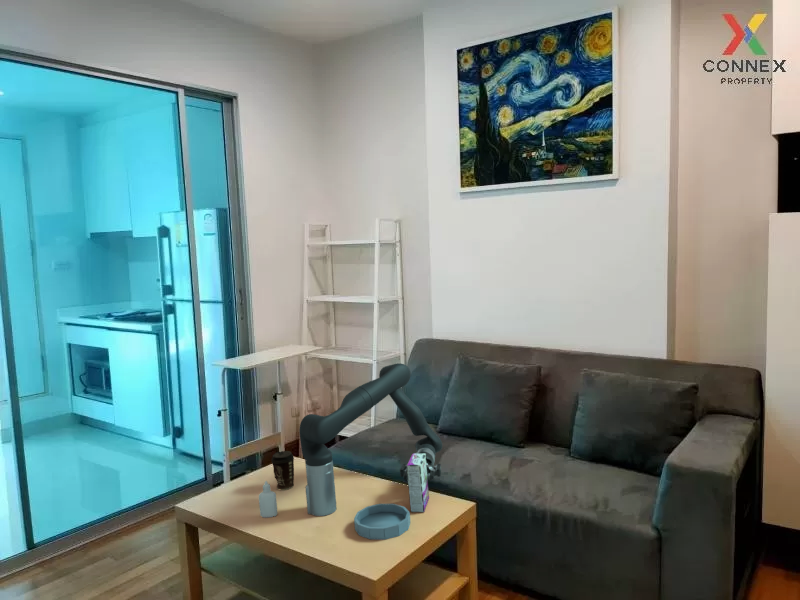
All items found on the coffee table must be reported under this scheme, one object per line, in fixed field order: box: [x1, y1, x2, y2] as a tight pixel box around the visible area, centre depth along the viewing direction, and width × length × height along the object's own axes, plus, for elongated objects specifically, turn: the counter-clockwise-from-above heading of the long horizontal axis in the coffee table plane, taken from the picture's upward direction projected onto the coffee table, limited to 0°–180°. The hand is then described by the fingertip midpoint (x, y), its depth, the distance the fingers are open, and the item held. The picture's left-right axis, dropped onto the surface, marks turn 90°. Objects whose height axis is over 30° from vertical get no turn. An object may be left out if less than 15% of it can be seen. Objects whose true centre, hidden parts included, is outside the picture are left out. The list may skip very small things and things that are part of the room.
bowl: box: [353, 503, 411, 540], centre depth 186 cm, size 17×17×4 cm
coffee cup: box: [270, 450, 295, 491], centre depth 223 cm, size 9×8×13 cm
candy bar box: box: [406, 452, 430, 513], centre depth 199 cm, size 11×5×16 cm, turn 168°
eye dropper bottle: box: [258, 480, 278, 518], centre depth 199 cm, size 4×6×12 cm
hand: (418, 478), depth 200 cm, fingers open, 8 cm apart
